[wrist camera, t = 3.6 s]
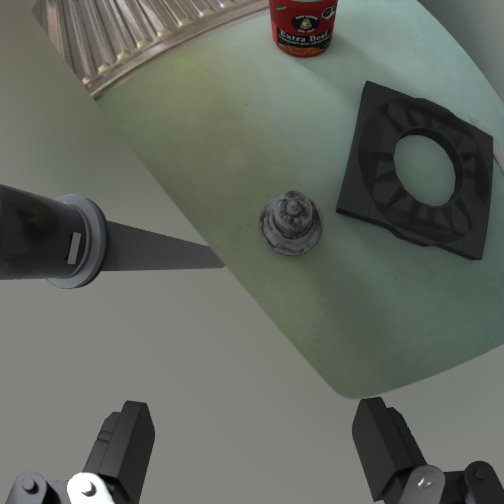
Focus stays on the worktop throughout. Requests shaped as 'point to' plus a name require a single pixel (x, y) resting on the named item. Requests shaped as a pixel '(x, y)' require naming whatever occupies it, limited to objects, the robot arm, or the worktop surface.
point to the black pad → (390, 187)
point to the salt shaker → (291, 223)
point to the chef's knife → (500, 156)
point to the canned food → (302, 25)
